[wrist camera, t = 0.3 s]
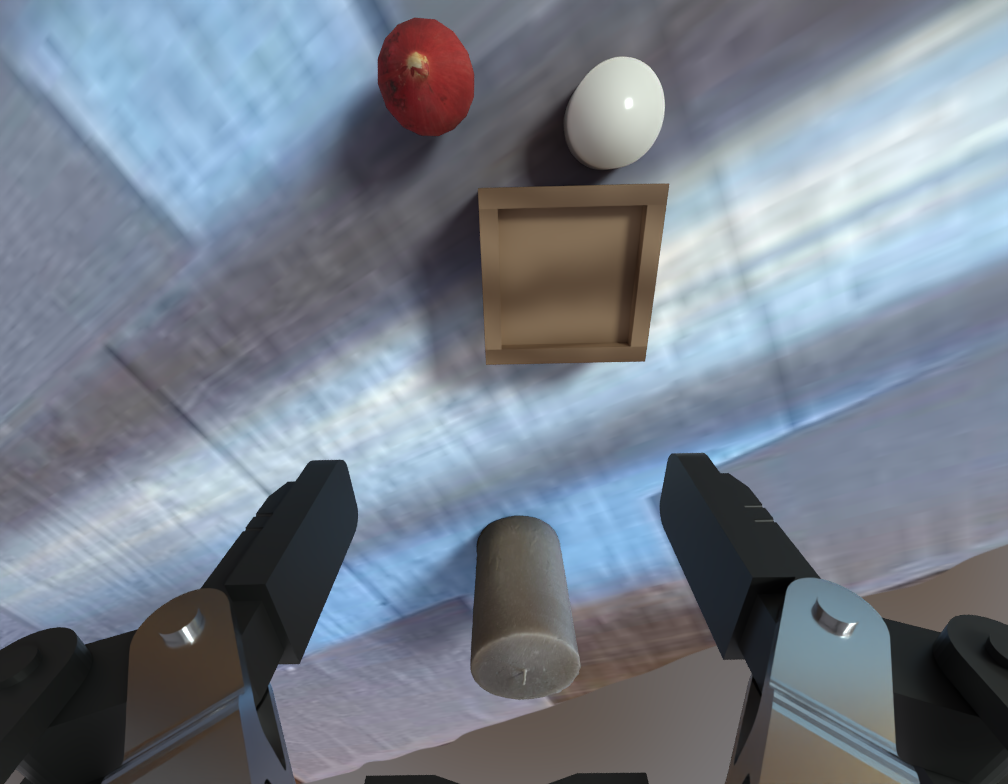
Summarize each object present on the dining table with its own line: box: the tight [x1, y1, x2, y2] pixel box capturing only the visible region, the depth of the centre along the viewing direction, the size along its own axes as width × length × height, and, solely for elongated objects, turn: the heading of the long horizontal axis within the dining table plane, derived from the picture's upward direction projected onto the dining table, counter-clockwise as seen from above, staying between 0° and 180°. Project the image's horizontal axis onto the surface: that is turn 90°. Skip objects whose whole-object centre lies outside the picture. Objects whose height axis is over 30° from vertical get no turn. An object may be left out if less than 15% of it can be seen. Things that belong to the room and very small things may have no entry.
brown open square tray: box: [478, 184, 669, 365], centre depth 32 cm, size 12×12×6 cm
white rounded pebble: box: [564, 57, 665, 170], centre depth 28 cm, size 6×6×4 cm
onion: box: [378, 18, 474, 136], centre depth 25 cm, size 6×6×8 cm
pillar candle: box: [470, 516, 581, 700], centre depth 41 cm, size 10×10×15 cm
